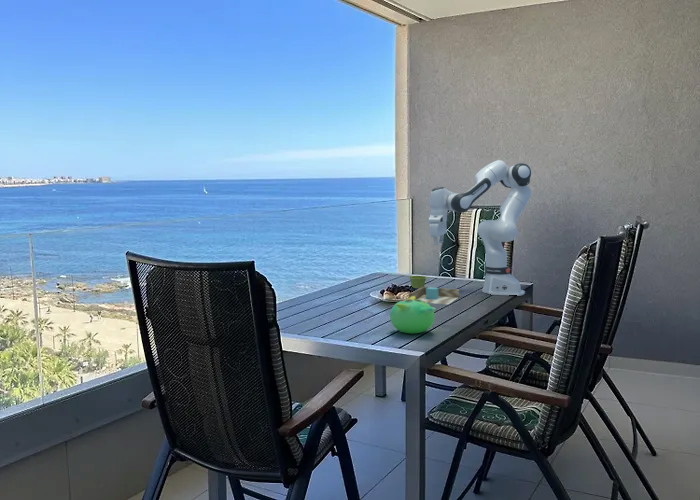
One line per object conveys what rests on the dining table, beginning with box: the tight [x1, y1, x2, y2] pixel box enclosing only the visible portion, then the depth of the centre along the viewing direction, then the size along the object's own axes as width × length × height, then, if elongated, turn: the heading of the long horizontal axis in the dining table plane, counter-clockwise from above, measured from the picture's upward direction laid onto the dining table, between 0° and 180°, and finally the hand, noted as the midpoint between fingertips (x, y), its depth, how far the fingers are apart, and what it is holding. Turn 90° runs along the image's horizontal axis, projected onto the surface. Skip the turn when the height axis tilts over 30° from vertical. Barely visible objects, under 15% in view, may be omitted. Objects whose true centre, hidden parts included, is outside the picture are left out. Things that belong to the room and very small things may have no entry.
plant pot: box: [409, 275, 427, 289], centre depth 345 cm, size 9×9×9 cm
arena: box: [408, 286, 460, 306], centre depth 323 cm, size 20×20×5 cm
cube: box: [426, 286, 439, 299], centre depth 325 cm, size 5×5×5 cm
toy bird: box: [389, 296, 437, 334], centre depth 258 cm, size 18×17×15 cm
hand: (438, 243), depth 340 cm, fingers open, 8 cm apart
